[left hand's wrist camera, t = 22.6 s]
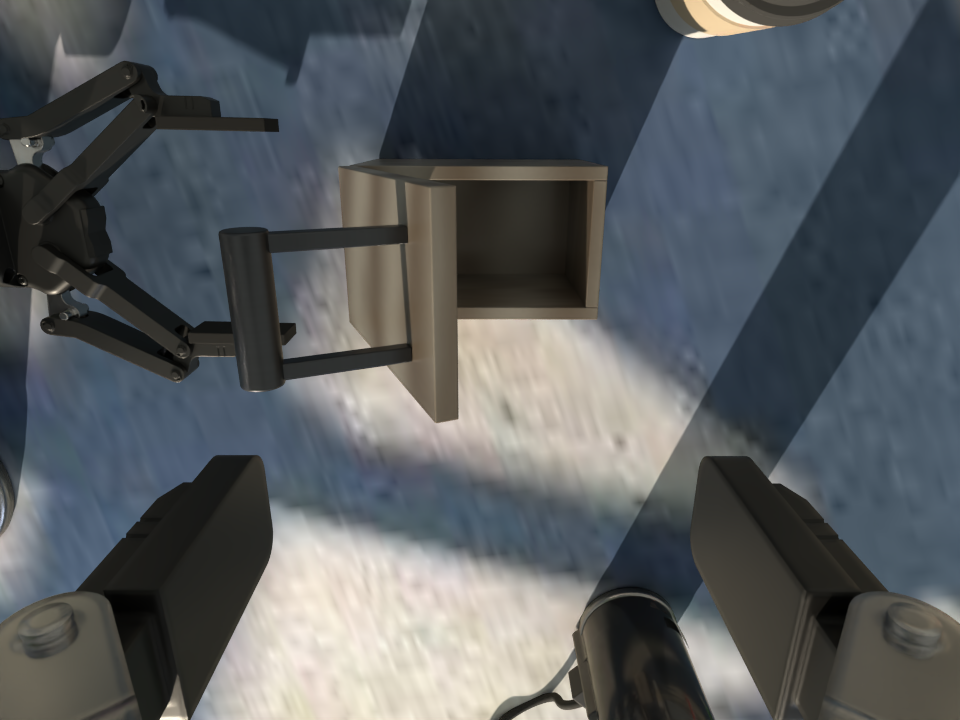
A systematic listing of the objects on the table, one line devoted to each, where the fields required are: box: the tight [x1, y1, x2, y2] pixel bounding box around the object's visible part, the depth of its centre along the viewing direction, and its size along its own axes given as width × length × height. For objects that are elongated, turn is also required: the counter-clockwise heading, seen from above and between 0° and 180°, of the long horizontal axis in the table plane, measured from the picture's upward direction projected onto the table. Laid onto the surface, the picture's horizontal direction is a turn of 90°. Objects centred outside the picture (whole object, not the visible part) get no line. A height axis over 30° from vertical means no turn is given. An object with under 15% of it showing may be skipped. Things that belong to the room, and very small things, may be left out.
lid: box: [219, 166, 458, 423], centre depth 29 cm, size 16×9×8 cm
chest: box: [350, 159, 608, 319], centre depth 42 cm, size 15×9×10 cm, turn 90°
